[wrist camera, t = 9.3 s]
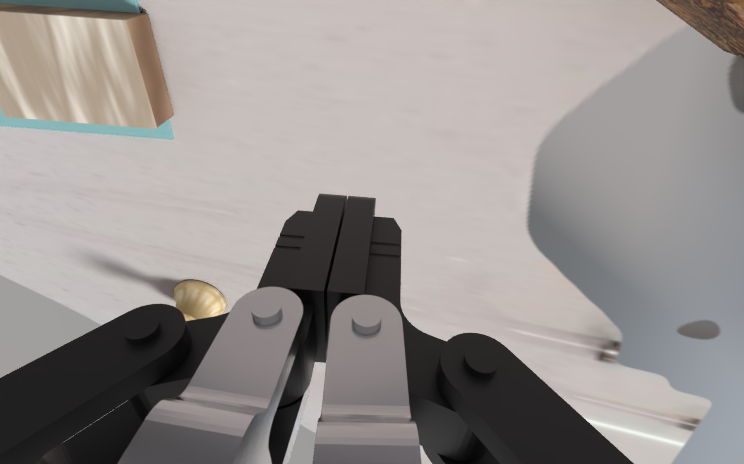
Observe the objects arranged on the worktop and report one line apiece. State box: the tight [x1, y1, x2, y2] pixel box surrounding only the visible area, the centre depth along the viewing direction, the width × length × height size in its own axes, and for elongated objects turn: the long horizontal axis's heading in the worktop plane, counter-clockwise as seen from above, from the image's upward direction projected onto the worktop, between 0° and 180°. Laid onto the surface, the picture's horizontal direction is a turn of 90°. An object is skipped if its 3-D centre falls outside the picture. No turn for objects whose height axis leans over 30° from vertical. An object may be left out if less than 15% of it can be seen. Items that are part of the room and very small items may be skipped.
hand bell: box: [174, 280, 226, 321], centre depth 56 cm, size 8×8×16 cm
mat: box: [0, 0, 174, 140], centre depth 41 cm, size 22×16×1 cm
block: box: [0, 3, 174, 129], centre depth 39 cm, size 4×10×16 cm
